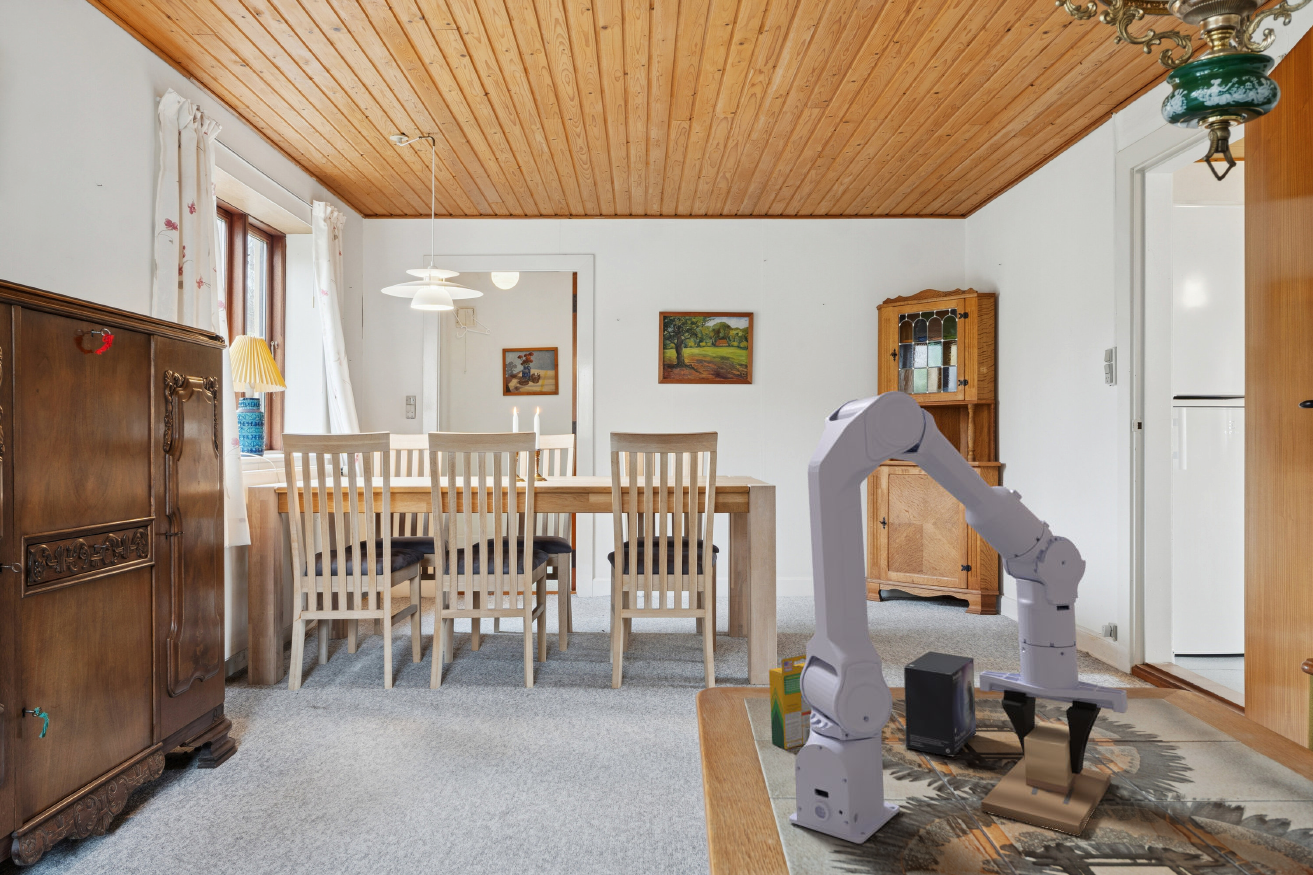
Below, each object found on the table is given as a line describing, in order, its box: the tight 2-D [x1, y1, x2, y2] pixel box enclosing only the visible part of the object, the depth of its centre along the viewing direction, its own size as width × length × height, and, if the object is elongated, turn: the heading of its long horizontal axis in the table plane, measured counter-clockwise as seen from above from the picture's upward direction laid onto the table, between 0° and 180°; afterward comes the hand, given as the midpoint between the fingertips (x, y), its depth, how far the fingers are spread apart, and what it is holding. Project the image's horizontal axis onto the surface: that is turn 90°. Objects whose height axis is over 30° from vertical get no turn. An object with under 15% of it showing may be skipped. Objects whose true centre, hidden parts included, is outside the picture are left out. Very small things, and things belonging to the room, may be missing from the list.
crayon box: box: [768, 654, 811, 751], centre depth 100 cm, size 7×3×12 cm, turn 120°
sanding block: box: [1024, 721, 1082, 794], centre depth 83 cm, size 7×4×5 cm, turn 139°
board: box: [980, 755, 1112, 837], centre depth 81 cm, size 16×9×1 cm, turn 139°
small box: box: [903, 650, 977, 756], centre depth 99 cm, size 11×6×10 cm, turn 143°
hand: (1053, 765), depth 83 cm, fingers closed on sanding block, 4 cm apart
